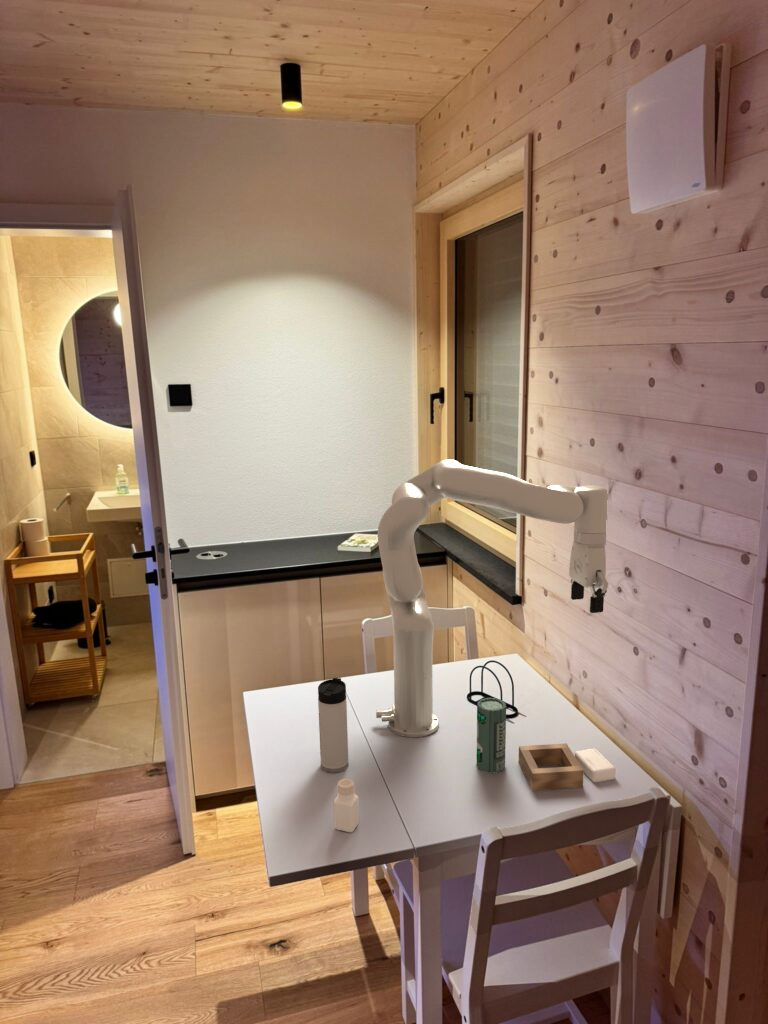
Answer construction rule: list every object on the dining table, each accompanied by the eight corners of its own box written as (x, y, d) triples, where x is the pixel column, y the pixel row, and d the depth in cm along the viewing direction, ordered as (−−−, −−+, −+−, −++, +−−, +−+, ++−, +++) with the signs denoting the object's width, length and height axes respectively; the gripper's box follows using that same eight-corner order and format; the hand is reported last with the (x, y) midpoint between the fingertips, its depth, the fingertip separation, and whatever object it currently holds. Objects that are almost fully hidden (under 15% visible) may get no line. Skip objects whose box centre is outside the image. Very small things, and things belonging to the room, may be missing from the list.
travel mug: (353, 760, 167) (350, 679, 163) (342, 775, 161) (339, 692, 157) (328, 755, 169) (325, 675, 165) (316, 770, 163) (312, 688, 159)
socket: (532, 790, 154) (532, 773, 153) (518, 762, 165) (518, 746, 164) (582, 787, 155) (583, 770, 154) (565, 759, 166) (566, 743, 165)
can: (485, 755, 168) (485, 695, 165) (509, 763, 165) (510, 702, 161) (472, 767, 163) (472, 706, 160) (496, 776, 160) (497, 713, 157)
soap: (616, 780, 158) (616, 767, 157) (593, 784, 157) (594, 771, 156) (594, 758, 166) (595, 746, 166) (573, 762, 165) (573, 750, 165)
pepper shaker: (333, 830, 143) (332, 786, 141) (342, 818, 146) (340, 775, 144) (352, 834, 141) (351, 790, 139) (360, 822, 145) (359, 779, 143)
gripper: (559, 530, 181) (556, 595, 185) (593, 547, 165) (589, 619, 169) (587, 528, 183) (583, 593, 187) (623, 545, 166) (618, 616, 170)
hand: (586, 605), depth 178 cm, fingers open, 9 cm apart
